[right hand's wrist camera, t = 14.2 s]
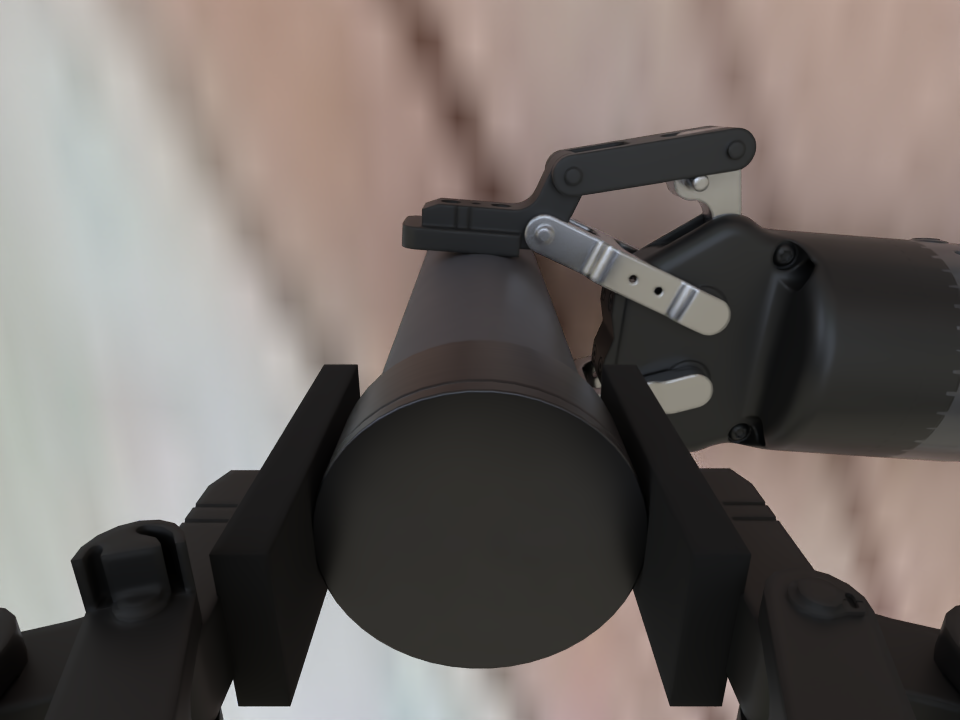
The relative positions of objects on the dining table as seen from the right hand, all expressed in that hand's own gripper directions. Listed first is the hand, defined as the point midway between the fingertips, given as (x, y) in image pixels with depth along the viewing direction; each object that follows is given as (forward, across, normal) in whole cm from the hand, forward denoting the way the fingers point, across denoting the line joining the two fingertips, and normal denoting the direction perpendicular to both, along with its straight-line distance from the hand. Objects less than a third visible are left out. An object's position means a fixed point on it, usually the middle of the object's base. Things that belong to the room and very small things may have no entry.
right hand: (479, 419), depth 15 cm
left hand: (+8, -3, 0) cm, 8 cm away
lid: (-4, 0, 0) cm, 4 cm away
